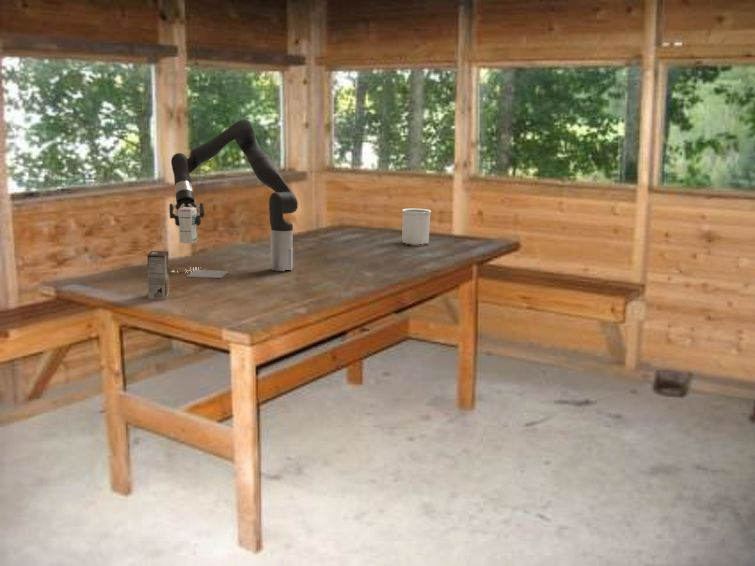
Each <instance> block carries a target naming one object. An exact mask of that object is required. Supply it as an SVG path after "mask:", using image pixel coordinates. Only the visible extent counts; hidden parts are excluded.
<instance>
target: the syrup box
mask: <svg viewBox="0 0 755 566" xmlns="http://www.w3.org/2000/svg"><path fill="white" fill-rule="evenodd" d="M178 210H179V226H178V231H179V236H178V237H179V243H181V244H194V243H197V242H198V241H199V240H198V239H199V238H198V226H197V212H198V211H197V210H198V208H195V207H184V208H180V209H178ZM178 210H177V211H178Z"/></svg>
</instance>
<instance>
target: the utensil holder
mask: <svg viewBox="0 0 755 566" xmlns="http://www.w3.org/2000/svg"><path fill="white" fill-rule="evenodd" d="M431 213H432V210H430V209H425V208H413V207H412V208H411V207H410V208H403V209H402V225H401V226H402V227H401V228H402V229H401V231H402V232H401V233H402V234H401V237H402V239H401V240H402V241H403V242H406V243H412V244H423V243H428V244H429V240H430V226H431V222H430V221H431Z"/></svg>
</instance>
